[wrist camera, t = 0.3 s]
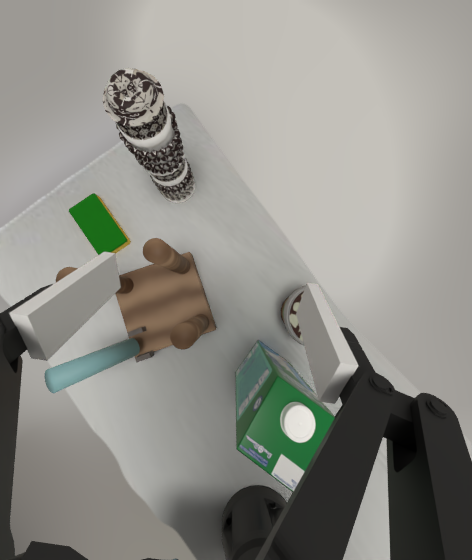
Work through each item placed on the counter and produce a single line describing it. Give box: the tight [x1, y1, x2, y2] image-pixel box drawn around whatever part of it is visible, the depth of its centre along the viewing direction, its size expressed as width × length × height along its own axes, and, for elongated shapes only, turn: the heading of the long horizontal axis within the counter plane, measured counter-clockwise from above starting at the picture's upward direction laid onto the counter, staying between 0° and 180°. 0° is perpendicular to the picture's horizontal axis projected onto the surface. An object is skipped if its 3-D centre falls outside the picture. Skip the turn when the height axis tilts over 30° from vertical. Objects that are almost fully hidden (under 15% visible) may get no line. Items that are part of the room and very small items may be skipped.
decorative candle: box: [103, 68, 195, 203], centre depth 40 cm, size 9×9×25 cm
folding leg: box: [45, 338, 140, 393], centre depth 39 cm, size 4×4×14 cm
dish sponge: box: [69, 194, 131, 255], centre depth 51 cm, size 7×14×2 cm, turn 36°
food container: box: [281, 286, 306, 345], centre depth 46 cm, size 12×6×10 cm, turn 175°
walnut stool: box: [56, 238, 216, 362], centre depth 41 cm, size 19×18×19 cm
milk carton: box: [235, 341, 335, 492], centre depth 37 cm, size 9×9×25 cm
